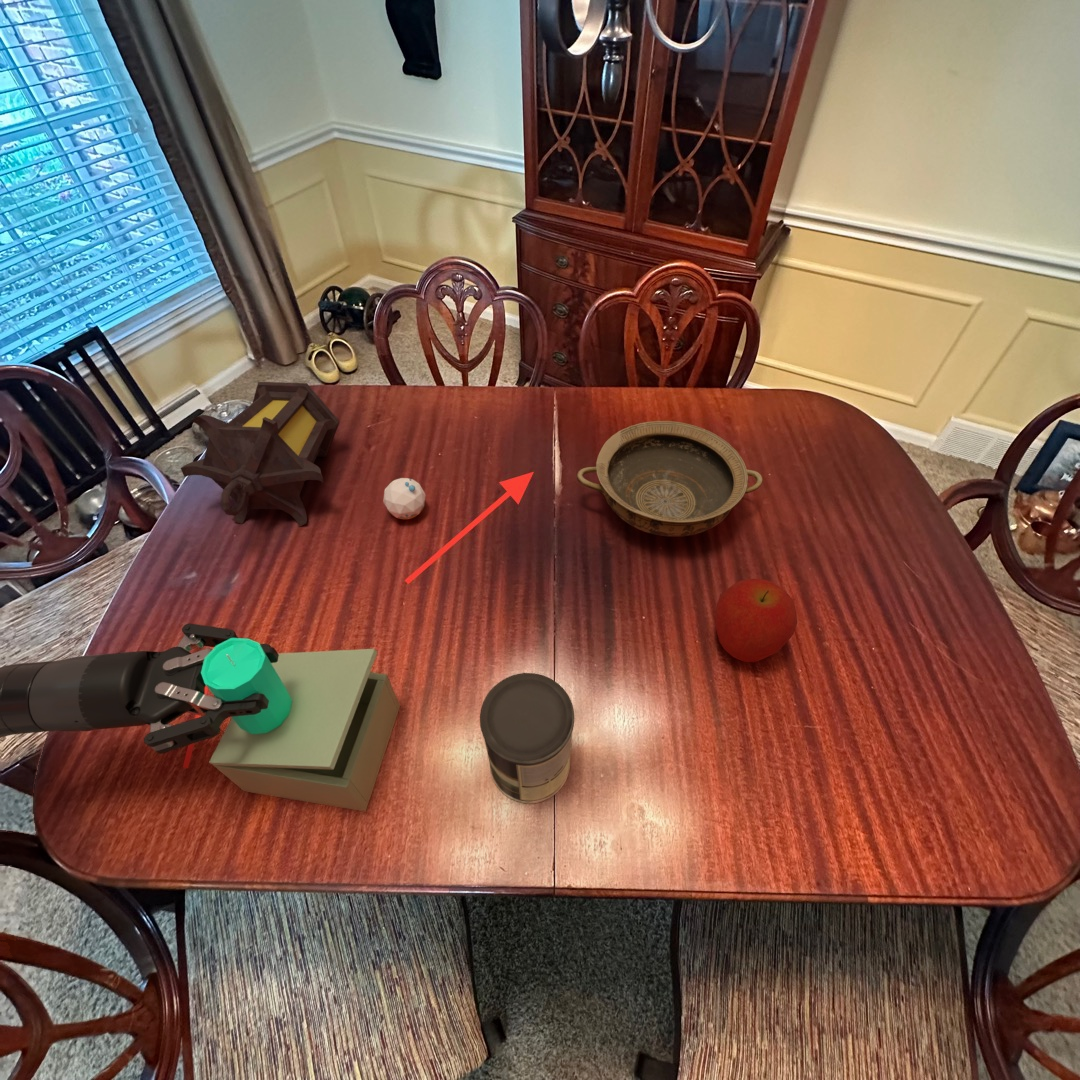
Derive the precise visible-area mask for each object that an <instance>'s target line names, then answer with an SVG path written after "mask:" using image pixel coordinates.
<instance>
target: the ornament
mask: <svg viewBox="0 0 1080 1080" xmlns="http://www.w3.org/2000/svg"><path fill="white" fill-rule="evenodd" d="M426 495H427V494H426V492H425V491H424V489H423V487H422V486H421V484H420V482H418V481H416V480H415V479H413V478H408V477H399V478H396V479H394V480H392V481H391V482H390V483H389V484H387V486H386V487H385V488H384V491H383V499H382V500H383V501H382V502H383V504H384V506H385V508H386V509H387V511H388V512H389V514H391V516H392V517H394V518H397V519H399V520H411V519H414V518H416V517H417V516H418V515H420V514H421V512H423V510H424V508H425V504H426Z"/></svg>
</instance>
